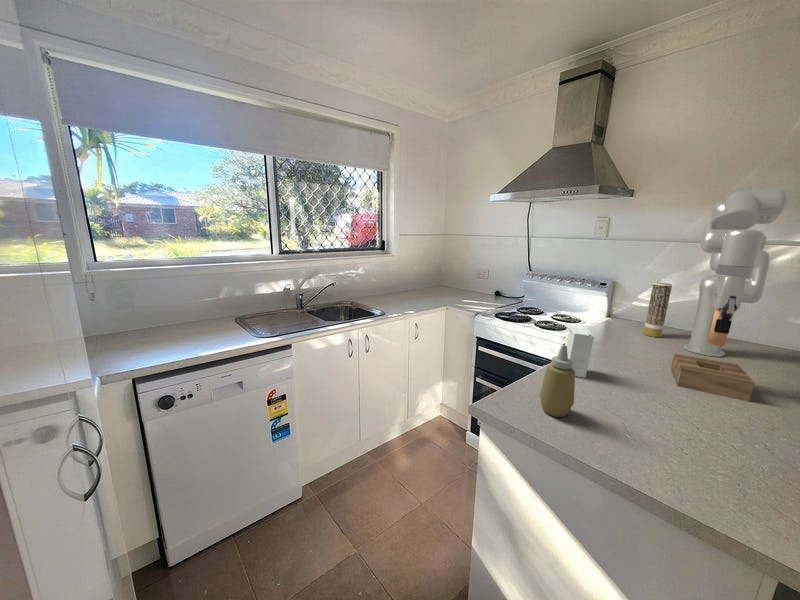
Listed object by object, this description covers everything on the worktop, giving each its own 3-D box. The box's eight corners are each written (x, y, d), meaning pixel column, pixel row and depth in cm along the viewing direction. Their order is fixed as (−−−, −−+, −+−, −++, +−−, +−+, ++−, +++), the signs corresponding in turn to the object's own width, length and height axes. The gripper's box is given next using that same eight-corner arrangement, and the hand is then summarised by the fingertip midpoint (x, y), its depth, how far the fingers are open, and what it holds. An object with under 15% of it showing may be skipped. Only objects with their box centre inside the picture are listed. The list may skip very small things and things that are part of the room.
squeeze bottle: (570, 424, 79) (581, 354, 75) (535, 413, 83) (544, 346, 79) (573, 409, 86) (583, 344, 82) (540, 400, 90) (548, 338, 86)
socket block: (670, 369, 115) (674, 353, 114) (732, 381, 107) (737, 364, 105) (677, 385, 102) (681, 367, 101) (749, 401, 93) (754, 382, 92)
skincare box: (562, 366, 114) (568, 325, 111) (581, 368, 113) (588, 327, 109) (566, 375, 106) (573, 332, 103) (587, 378, 105) (594, 334, 102)
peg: (705, 340, 104) (716, 297, 101) (722, 343, 102) (733, 299, 99) (708, 343, 101) (719, 299, 98) (726, 346, 99) (737, 301, 96)
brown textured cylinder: (664, 338, 151) (675, 285, 146) (647, 336, 152) (658, 284, 147) (656, 334, 157) (666, 283, 152) (640, 332, 159) (650, 282, 153)
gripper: (710, 268, 106) (697, 323, 109) (724, 273, 92) (708, 334, 96) (742, 271, 102) (728, 327, 105) (761, 275, 88) (744, 340, 92)
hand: (719, 330), depth 100 cm, fingers closed on peg, 4 cm apart
